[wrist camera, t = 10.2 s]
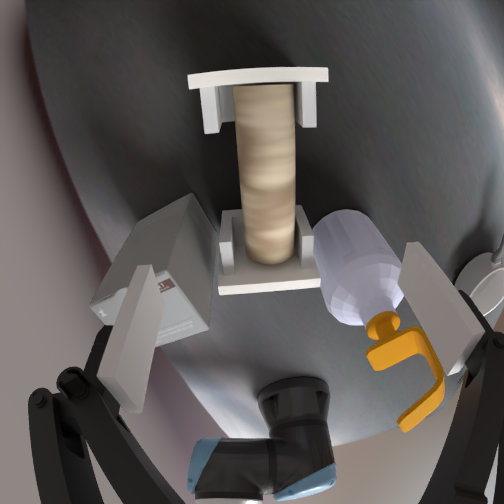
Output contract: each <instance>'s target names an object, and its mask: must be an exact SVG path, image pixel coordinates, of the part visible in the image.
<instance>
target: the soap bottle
mask: <svg viewBox="0 0 504 504" xmlns="http://www.w3.org/2000/svg"><path fill="white" fill-rule="evenodd" d="M312 232H313V234H314V246H313V257H314V260H315V262H316V265H317V268H318V271H319V274H320V277H321V283H320V288H321V291H322V294H323V297H324V300H325V303H326V306H327V309H328V311H329V312H330V313H331V314H332V315H333V316H334V317H335V318H337V319H338V320H339V321H340V322H342V323H345V324H348V325H364V327H365V329H366V332H367V334H368V336H369V337H370V338H371V339H375V340H377V339H379V340H378V341H377V343H376V345H373V346H371V347H370V348H369V349H368V350H367V351H366V356H367V358H368V360H369V361H370V363H371V365H372V367H373V368H374V370H375V371H380V370H384V369H386V368H388V367H390V366H392V365H394V364H396V363H398V362H400V361H402V360H404V359H406V358H408V357H410V356H412V355H414V354H417V353H420V354H423V355H424V356H425V358H426V359H427V361H428V363H429V365H430V367H431V369H432V372H433V374H434V376H435V378H436V381H437V382H436V383H435V385H434V386H433V387H432V388H431V389H430V390H429V391H428V392H427V393H426V394H425V395H424V396H423V397H422V398H420V399H419V400H418V401H417V402H416V403H415V404H414V405H412V406H411V407H410V408H409V409H408V410H407V411H405V412H404V413H403V414H402V415H401V416H400V417H399V418H398V420H397V423H398V425H399V426H400V428H401V430H402V431H403V432H407V431H409V430H411V429H412V428H413V427H414V426H416V425H417V424H418V423H419V422H420V421H422V420H423V419H424V418H425V417H426V416H427V415H429V414H430V413H431V412H432V411H433V410H434V409H435V408H437V407H438V406H439V404H440V403H441V401H442V400H443V398H444V394H445V385H444V372H443V368H442V366H441V364H440V362H439V360H438V358H437V355H436V353H435V351H434V349H433V347H432V345H431V343H430V341H429V340H428V338H427V336H426V334H425V332H424V331H423V330H422V329H421V328H420V327H415V326H413V327H410V328H407V329H405V330H403V331H396V330H397V329H398V327H399V325H400V319H399V317H398V314H397V312H396V310H395V308H396V307H397V306H398V304H399V303H400V301H401V300H402V299H403V296H404V294H403V293H402V291H401V289H400V288H399V286H398V284H397V282H398V278H399V274H400V271H401V267H402V264H401V262H400V261H399V259H398V258H397V256H396V255H395V253H394V252H393V250H392V249H391V247H390V246H389V245H388V243H387V242H386V240H385V239H384V238H383V236H382V235H381V233H380V232H379V231H378V229H377V228H376V227H375V225H374V224H373V223H372V221H371V220H370V219H369V217H368V216H366V215H364V214H363V213H361V212H359V211H355V210H349V209H344V210H339V211H334V212H332V213H330V214H328V215H327V216H325V217H323V218H322V219H321V220H320V221H319V222H318V223H317V224H316V225H315V226H314V228H313V230H312Z"/></svg>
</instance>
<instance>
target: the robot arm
mask: <svg viewBox="0 0 504 504" xmlns="http://www.w3.org/2000/svg"><path fill="white" fill-rule="evenodd" d="M397 284H398V286H399V288H400V289H401V291H402V293H403V294H404V296H405V298H406V299H407V301H408V303H409V305H410V306H411V308H412V310H413V312H414V313H415V315H416V317H417V319H418V320H419V322H420V324H421V326H422V328H423V330H424V331H425V333H426V335H427V337H428V339H429V341H430V343H431V345H432V347H433V349H434V350H435V352H436V354H437V356H438V358H439V360H440V362H441V364H442V366H443V368H444V371H445V373H446V375H447V376H448V375H451V374H454V373H457V372H460V370H461V369H462V367H463V366H464V364H466V366H467V368H468V369H467V370H466V372H465V373H464V374H463V376H462V377H461V379H460V380H459V382H458V383H459V384H460V383H461V382H462V380H463V379H464V380H463V384H462V389H461V392H460V396H459V400H458V404H457V407H456V411H455V414H454V417H453V421H452V424H451V427H450V430H449V433H448V436H447V439H446V442H445V444H444V447H443V450H442V453H441V455H440V458H439V460H438V463H437V465H436V468H435V470H434V472H433V475H432V477H431V479H430V482H429V484H428V486H427V488H426V490H425V492H424V494H423V496H422V498H421V500H420V502H419V503H418V504H487V503H488V500H487V497H485V495H484V491H485V488H486V485H487V482H488V479H489V475H490V472H491V469H492V466H493V462H494V458H495V455H496V451H497V447H498V443H499V449H498V451H499V452H498V466H497V476H496V485H495V494H494V500H493V504H504V334H503V333H501V332H494V331H493V330H492V328H491V326H490V325H489V323H488V322H487V321H486V319H485V318H484V316H483V315H482V313H481V312H480V311H479V309H478V308H477V306H476V305H474V302H473V301H472V299H471V298H470V296H469V295H467V294H466V293H465V292H464V291H462V290H457V289H456V288H455V287H454V285H453V284H452V283H451V281H450V280H449V279H448V277H447V276H446V275H445V274H444V272H443V271H442V270H441V268H440V267H439V266H438V265H437V263H436V262H435V261H434V260H433V258H432V257H431V256H430V255H429V254H428V252H427V251H426V250H425V249H424V247H423V246H422V245H421V244H420V243H419V242H411V243H407V246H406V250H405V254H404V259H403V263H402V267H401V271H400V274H399V278H398V282H397ZM164 306H165V304H164V301H163V298H162V295H161V292H160V289H159V286H158V283H157V280H156V277H155V274H154V271H153V268H152V264H150V265H138V266H137V268H136V270H135V273H134V275H133V278H132V280H131V282H130V285H129V287H128V290H127V292H126V295H125V297H124V300H123V302H122V305H121V307H120V310H119V313H118V315H117V318H116V321H115V323H114V325H104V326H103V328H102V329H101V330H100V331H99V332H98V334H97V336H96V339H95V342H94V345H93V347H92V349H91V352H90V355H89V357H88V361H87V363H86V366H85V369H84V371H83V370H82V369H81V368H78V367H69V368H67V369H65V370H64V371H63V372H61V374H60V375H59V376H58V379H57V382H56V384H57V389H58V390H59V391H60V393H55V394H52V393H51V392H50V391H49V390H48V389H46V388H38V389H36V390H35V391H34V392H33V393H32V394H31V395H30V397H29V401H28V414H29V429H30V440H31V448H32V457H33V464H34V470H35V475H36V481H37V486H38V491H39V496H40V500H41V504H104V502H103V499H102V496H101V494H100V490H99V488H98V484H97V481H96V478H95V474H94V471H93V467H92V463H91V460H90V456H89V452H88V448H87V444H86V441H87V443H88V444H89V447H90V449H91V450H92V452H93V454H94V456H95V458H96V460H97V461H98V463H99V465H100V467H101V469H102V470H103V472H104V474H105V476H106V477H107V479H108V480H109V482H110V484H111V485H112V487H113V489H114V490H115V491H116V493H117V495H118V496H119V498H120V499H121V501H122V502H123V504H185V502H184V501H183V500H182V499H181V498H180V497H179V496H178V494H177V493H176V492H175V491H174V490H173V488H172V487H171V486H170V485H169V484H168V483H167V481H166V480H165V479H164V477H163V476H162V475H161V474H160V472H159V471H158V470H157V468H156V467H155V466H154V465H153V463H152V462H151V460H150V459H149V457H148V456H147V455H146V453H145V452H144V451H143V449H142V448H141V446H140V445H139V443H138V442H137V440H136V439H135V437H134V436H133V434H132V433H131V431H130V430H129V428H128V427H127V425H126V424H125V422H124V420H123V419H122V417H121V416H120V415H119V409H120V406H121V407H122V408H123V410H124V411H125V412H131V413H142V410H143V404H144V399H145V394H146V388H147V383H148V378H149V373H150V368H151V364H152V359H153V354H154V349H155V345H156V340H157V336H158V332H159V327H160V323H161V319H162V315H163V311H164ZM329 403H330V392H329V387H328V385H327V383H325V382H324V381H322V380H320V379H317V378H311V377H297V378H290V379H285V380H281V381H278V382H275V383H273V384H271V385H269V386H267V387H265V388H264V389H263V390H262V391H261V392H260V393H259V395H258V405H259V409H260V412H261V414H262V416H263V418H264V420H265V422H266V425H267V427H268V429H269V436H270V438H257V439H243V438H223V437H219V438H201V439H199V440H198V441H197V442H196V444H195V446H194V448H193V452H192V455H191V460H190V465H189V470H188V481H187V491H188V492H190V493H192V494H195V502H196V503H197V504H262V503H263V495H264V494H274V495H273V497H274V498H275V500H276V501H284V500H285V501H286V500H292V499H297V498H301V497H305V496H309V495H312V494H316V493H319V492H321V491H324V490H326V489H328V488H330V487H332V486H333V485H334V484H335V482H336V469H335V466H336V463H335V461H334V456H333V450H332V445H331V440H330V435H329V430H328V425H327V416H328V410H329Z"/></svg>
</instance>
